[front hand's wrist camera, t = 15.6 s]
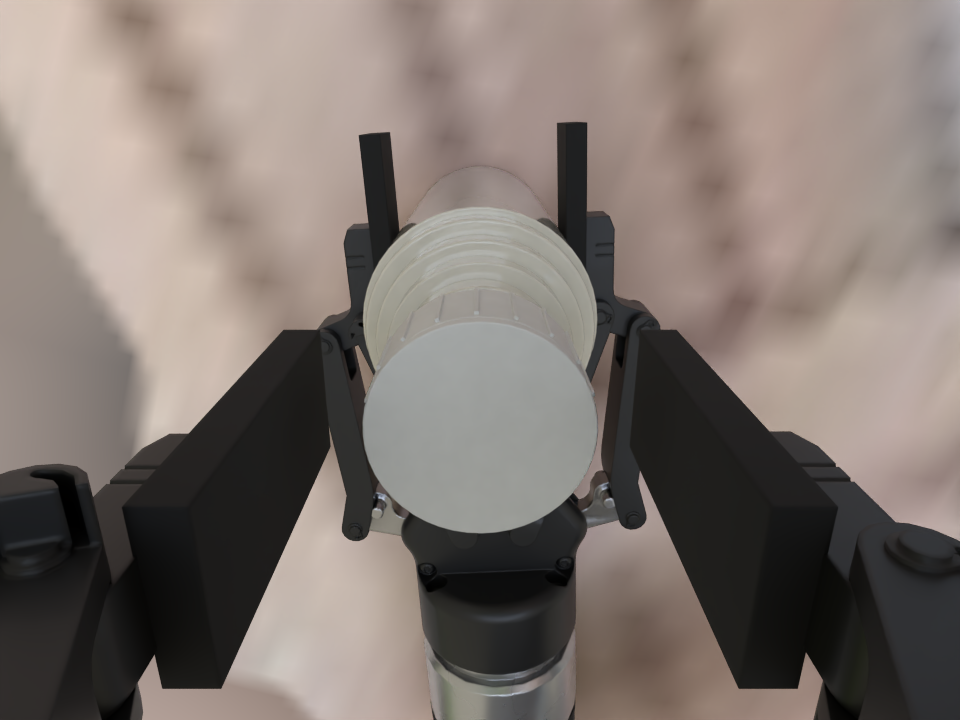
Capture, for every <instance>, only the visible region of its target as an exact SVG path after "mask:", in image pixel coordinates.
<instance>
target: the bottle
mask: <svg viewBox="0 0 960 720" xmlns="http://www.w3.org/2000/svg"><path fill="white" fill-rule="evenodd" d="M475 288H479V289H484V290H496V291H501V292H506V293H510V292H513V293H514V294H515V295H516V296H519V297H521V298H523V299H526V300H528V301H530V302H532V303H533V304H535V305H537V306H538V307H540V308H542V307H544V308H545V309H546V311H547V313H548V314H549V315H550V316H551V317H552V318H553V319H554V320H555V321H556V322H557V323H558V324H559V325H560V326H561V327H562V329H563V330H564V332H566V331H568V333H569V335H570V337H571V340H572V342H573V345H574V347H575V349H576V352H577V354H578V357H579V359H580V361H582V364H583V366H584V369H585V370H586V368H587V365H588V362H589V359H590V356H591V353H592V350H593V347H594V342H595V337H596V331H597V306H596V300H595V295H594V290H593V287H592V284H591V282H590V279H589V276H588V274H587V272H586V270H585V268H584V266H583V264H582V262H581V261H580V259H579V258H578V256H577V255H576V254H575V252H574V251H573V249H572V248H571V246H570V245H569V243H568V242H567V241H566V239H565V238H564V236H563V235H562V233H561V232H560V230H559V229H558V228H557V226H556V225H555V223H554V222H553V220H552V219H551V217H550V216H549V215H548V213H547V212H546V210H545V209H544V207H543V206H542V204H541V203H540V202H539V200H538V199H537V197H536V196H535V194H534V193H533V192H532V190H531V189H530V188H529V187H528V186H527V185H526V184H525V183H524V182H523V181H521V180H520V179H519V178H517V177H516V176H514V175H512V174H511V173H508V172H506V171H504V170H501V169H497V168H494V167H487V166H474V167H467V168H463V169H459V170H456V171H454V172H452V173H450V174H448V175H446V176H445V177H443V178H441V179H440V180H439V181H438V182H436V183H435V184H434V185H433V186H432V187H431V188H430V189H429V190H428V192H427V193H426V195H425V196H424V197H423V199H422V200H421V202H420V203H419V205H418V206H417V208H416V209H415V210H414V212H413V213H412V215H411V216H410V218H409V219H408V221H407V222H406V223H405V225H404V226H403V228H402V229H401V231H400V232H399V234H398V235H397V236H396V238H395V239H394V241H393V242H392V244H391V245H390V247H389V248H388V249H387V251H386V252H385V254H384V255H383V257H382V258H381V260H380V261H379V263H378V265H377V267H376V269H375V270H374V272H373V274H372V277H371V280H370V282H369V285H368V288H367V292H366V296H365V301H364V310H363V328H364V336H365V341H366V346H367V349H368V352H369V355H370V358H371V361H372V364H373V367H374V369H375V371H376V370H377V369H376V367H377V365H378V362H379V360H380V357H381V355H382V352H383V350H384V348H385V345H386V343H387V340H388V338H389V336H391V337H393V335H394V334H395V332H396V331H397V329H398V328H399V327H400V326H401V325H402V323H403V322H404V321H405V320H406V319H407V318H408V316H409V313H410V312H411V311H413V312H415V311H416V310H418V309H419V308H421V307H422V306H424V305H425V304H427V303H429V302H431V301H433V300H435V299H437V298H439V296H440V295H441V294H444V296H445V295H447V294H450V293H454V292H459V291H464V290H475Z"/></svg>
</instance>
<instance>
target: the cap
mask: <svg viewBox="0 0 960 720" xmlns="http://www.w3.org/2000/svg"><path fill="white" fill-rule="evenodd" d="M376 369H377V370H376V372H375V375H374V377H373V379H372V382H371V384H370V387H369V389H368V392H367V394H366V397H365V399H364V403H365V407H364V413H363V421H362V426H363V441H364V447H365V451H366V454H367V458H368V461H369V463H370V465H371V468H372V470H373V472H374V474H375V476H376V477H377V479H378V480H379V482H380V483H381V485H382V486H383V488H384V489H385V490H386V491H387V492H388V493H389V495H390V496H391V497H392V498H393V499H394V500H395V501H396V502H398V503H399V504H400V505H401V506H402V507H403V508H405V509H406V510H408V511H409V512H410V513H412V514H413V515H415V516H417V517H419V518H421V519H422V520H424V521H426V522H429V523H431V524H434V525H436V526H439V527H442V528H446V529H450V530H453V531H460V532H466V533H494V532H501V531H506V530H511V529H515V528H518V527H521V526H525V525H527V524H529V523H532V522H534V521H536V520H538V519H540V518H542V517H543V516H545V515H547V514H549V513H550V512H552V511H553V510H554V509H556V508H557V507H558V506H560V505H561V504H562V503H563V502H564V501H565V500H566V499H567V498H568V497H569V496H570V495H571V494H572V493H573V492H574V490H575V489H576V488H577V487H578V485H579V484H580V483H581V481H582V479H583V478H584V476H585V474H586V473H587V471H588V468H589V466H590V464H591V462H592V459H593V456H594V452H595V448H596V444H597V436H598V417H597V411H596V405H595V402H594V399H593V396H595V393H594V390H593V388H592V386H591V383H590V381H589V378H588V376H587V373H586V371H585V369H584V366H583V364H582V361H580V359H579V357H578V354H577V352H576V349H575V347H574V345H573V342H572V340H571V337H570V335H569V333H568V331H566V332H564V330H563V329H562V327H561V326H560V325H559V324H558V323H557V322H556V321H555V320H554V319H553V318H552V317H551V316H550V315H549V314H548V313H547V311H546V309H545V308H544V307H542V308H540V307H538V306H537V305H535V304H533V303H532V302H530V301H528V300H526V299H523V298H521V297H519V296H516V295H515V294H514V293H513V292H510V293H506V292H501V291H496V290H484V289H479V288H475V290H464V291H459V292H454V293H450V294H447V295H445V296H444V294H441V295H440V296H439V298H437V299H435V300H433V301H431V302H429V303H427V304H425V305H424V306H422V307H421V308H419V309H418V310H416V311H415V312H413V311H411V312H410V313H409V316H408V318H407V319H406V320H405V321H404V322H403V323H402V325H401V326H400V327H399V328H398V329H397V331H396V332H395V334H394V335H393V337H391V336H389V338H388V340H387V343H386V345H385V348H384V350H383V352H382V355H381V357H380V360H379V362H378V365H377V367H376Z"/></svg>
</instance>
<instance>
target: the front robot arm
mask: <svg viewBox="0 0 960 720" xmlns="http://www.w3.org/2000/svg"><path fill="white" fill-rule="evenodd" d="M330 447H331V446H330V435H329V424H328V413H327V402H326V390H325V379H324V368H323V357H322V346H321V335H320V330H283V331H282V332H281V333H280V334H279V336H278V337H277V338H276V339H275V340H274V341H273V342H272V343H271V344H270V345H269V346H268V348H267V349H266V350H265V351H264V352H263V353H262V354H261V355H260V356H259V357H258V358H257V360H256V361H255V362H254V363H253V364H252V365H251V366H250V367H249V368H248V369H247V370H246V372H245V373H244V374H243V375H242V376H241V377H240V378H239V379H238V380H237V381H236V383H235V384H234V385H233V386H232V387H231V388H230V389H229V390H228V391H227V392H226V393H225V395H224V396H223V397H222V398H221V399H220V400H219V401H218V402H217V403H216V404H215V405H214V407H213V408H212V409H211V410H210V411H209V412H208V413H207V414H206V415H205V416H204V417H203V419H202V420H201V421H200V422H199V423H198V424H197V425H196V426H195V427H194V428H193V429H192V431H191V432H190V433H189V434H169V435H167V436H165V437H163V438H161V439H159V440H157V441H156V442H154V443H152V444H150V445H148V446H146V447H144V448H143V449H142V450H141V451H139V452H138V453H137V454H136V455H135V456H134V457H133V458H132V459H131V460H130V461H129V462H128V463H127V464H126V465H125V469H122V470H120V471H119V472H118V473H117V474H116V475H115V476H114V477H113V478H112V479H111V480H110V484H106V485H105V486H104V487H103V488H102V489H101V490H100V491H99V492H98V493H97V494H96V495H95V496H94V497H93V496H92V492H91V488H90V484H89V480H88V475H87V473H86V472H84V471H83V470H81V469H80V468H78V467H77V466H70V465H63V464H50V465H35V466H31V467H26V468H22V469H17V470H12V471H9V472H6V473H3V474H0V720H142V715H143V708H142V701H141V695H140V691H139V687H138V681H139V679H140V678H141V676H142V674H143V673H144V671H145V669H146V668H147V666H148V664H149V663H150V661H151V659H152V658H153V656H154V654H155V658H156V663H157V667H158V671H159V676H160V680H161V685H162V688H163V689H221V688H222V686H223V684H224V681H225V679H226V677H227V675H228V673H229V670H230V668H231V666H232V664H233V661H234V659H235V657H236V655H237V653H238V650H239V648H240V646H241V644H242V642H243V639H244V637H245V635H246V633H247V630H248V628H249V626H250V624H251V622H252V619H253V617H254V615H255V613H256V611H257V608H258V606H259V604H260V602H261V599H262V597H263V595H264V593H265V591H266V588H267V586H268V584H269V582H270V580H271V577H272V575H273V573H274V571H275V568H276V566H277V564H278V562H279V560H280V557H281V555H282V553H283V551H284V549H285V546H286V544H287V542H288V540H289V537H290V535H291V533H292V531H293V529H294V526H295V524H296V522H297V520H298V517H299V515H300V513H301V511H302V509H303V506H304V504H305V502H306V500H307V498H308V495H309V493H310V491H311V489H312V486H313V484H314V482H315V480H316V478H317V475H318V473H319V471H320V469H321V467H322V464H323V462H324V460H325V458H326V455H327V453H328V451H329V449H330ZM629 447H630V449H631V451H632V453H633V455H634V458H635V460H636V462H637V464H638V467H639V469H640V471H641V473H642V475H643V478H644V480H645V482H646V484H647V486H648V489H649V491H650V493H651V495H652V498H653V500H654V502H655V504H656V506H657V509H658V511H659V513H660V515H661V517H662V520H663V522H664V524H665V526H666V529H667V531H668V533H669V535H670V537H671V540H672V542H673V544H674V546H675V549H676V551H677V553H678V555H679V557H680V560H681V562H682V564H683V566H684V568H685V571H686V573H687V575H688V577H689V580H690V582H691V584H692V586H693V588H694V591H695V593H696V595H697V597H698V599H699V602H700V604H701V606H702V608H703V611H704V613H705V615H706V617H707V619H708V622H709V624H710V626H711V628H712V630H713V633H714V635H715V637H716V639H717V642H718V644H719V646H720V648H721V650H722V653H723V655H724V657H725V659H726V661H727V664H728V666H729V668H730V670H731V673H732V675H733V677H734V679H735V681H736V684H737V686H738V688H739V689H798V685H799V680H800V676H801V671H802V667H803V663H804V658H805V654H806V653H807V654H808V656H809V658H810V659H811V661H812V663H813V664H814V666H815V667H816V669H817V671H818V672H819V674H820V676H821V677H822V679H823V683H822V687H821V691H820V695H819V699H818V703H817V708H816V712H815V716H814V720H960V541H958V540H956V539H954V538H951V537H949V536H947V535H944V534H942V533H940V532H937V531H935V530H932V529H928V528H924V527H920V526H916V525H912V524H909V523H896V522H895V521H894V520H893V519H892V518H891V517H890V516H889V515H888V514H887V513H886V512H885V511H884V510H883V509H882V508H881V507H880V506H879V505H878V504H876V503H875V502H874V501H873V500H872V499H871V498H870V497H869V496H868V495H867V494H866V493H865V492H864V491H863V490H862V489H861V488H860V487H859V486H858V485H857V484H856V483H855V482H851V481H850V477H849V476H848V475H847V474H846V473H845V472H844V471H843V470H842V469H841V468H840V467H836V463H835V462H834V461H833V460H832V459H831V458H829V457H828V456H827V455H826V454H825V453H824V452H823V451H822V450H821V449H820V448H819V447H818V446H817V445H815V444H813V443H811V442H809V441H807V440H805V439H804V438H802V437H800V436H798V435H796V434H794V433H792V432H769V431H768V429H767V428H766V427H765V426H764V425H763V424H762V423H761V422H760V421H759V420H758V419H757V417H756V416H755V415H754V414H753V413H752V412H751V411H750V410H749V409H748V408H747V407H746V405H745V404H744V403H743V402H742V401H741V400H740V399H739V398H738V397H737V396H736V395H735V393H734V392H733V391H732V390H731V389H730V388H729V387H728V386H727V385H726V384H725V383H724V381H723V380H722V379H721V378H720V377H719V376H718V375H717V374H716V373H715V372H714V370H713V369H712V368H711V367H710V366H709V365H708V364H707V363H706V362H705V361H704V360H703V358H702V357H701V356H700V355H699V354H698V353H697V352H696V351H695V350H694V349H693V348H692V346H691V345H690V344H689V343H688V342H687V341H686V340H685V339H684V338H683V337H682V336H681V334H680V333H679V332H678V331H677V330H640V335H639V346H638V357H637V368H636V379H635V390H634V402H633V413H632V424H631V435H630V446H629Z"/></svg>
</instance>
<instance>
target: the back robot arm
mask: <svg viewBox="0 0 960 720" xmlns="http://www.w3.org/2000/svg"><path fill="white" fill-rule="evenodd" d="M359 141H360V150H361V159H362V168H363V177H364V186H365V195H366V204H367V213H368V222H369V223H365V224H353V225H352V226H351V227H350V228H349V229H348V230H347V233H346V236H345V240H344V250H345V257H346V266H347V274H348V282H349V290H350V298H351V308H350V309H349V310H347V311H345V312H343V313H340V314H338V315H331V316H328V317H327V318H326V319H325V320H324V321H323V323H322V324H321V325H320V327H319V328H318V329H317V330H320V335H321V346H322V357H323V368H324V379H325V390H326V402H327V413H328V424H329V428H330V432H331V436H332V440H333V444H334V448H335V451H336V455H337V459H338V463H339V467H340V471H341V475H342V479H343V483H344V487H345V491H346V495H347V497H346V504H345V511H344V517H343V524H342V532H343V534H344V536H345V537H346V538H348V539H349V540H352V541H360V540H363V539H364V538H366V537H367V535H368V533H369V530H371V531H376V532H382V533H388V534H394V535H400V536H402V540H403V542H404V544H405V546H406V547H407V548H408V549H409V550H410V552H411V553H412V555H413V557H414V559H415V562H416V569H417V578H418V588H419V597H420V607H421V617H422V625H423V631H424V634H425V638H424V647H425V655H426V664H427V672H428V680H429V689H430V697H431V707H432V714H433V719H434V720H575V715H574V711H575V694H576V635H575V627H574V626H575V620H576V552H577V549H578V547H579V545H580V543H581V542H582V540H583V539H584V537H585V535H586V532H587V528H590V527H593V526H597V525H601V524H605V523H609V522H613V521H616V520H619V521H620V523H621V525H622V526H623V527H625V528H627V529H630V530H631V529H637V528H639V527H641V526H642V525H643V524H644V523H645V521H646V511H645V508H644V504H643V500H642V496H641V493H640V489H639V485H638V479H639V473H640V469H639V467H638V464H637V462H636V460H635V458H634V455H633V453H632V451H631V449H630V447H629V446H630V435H631V424H632V413H633V402H634V390H635V379H636V368H637V357H638V346H639V335H640V330H660V325H659V323H658V321H657V320H656V319H655V317H654V316H653V315H652V314H651V313H650V312H649V310H648V309H647V308H646V307H645V306H644V305H643V304H642V303H641V302H639V301H636V300H626V299H623V298H620V297H617V296H615V295H614V291H613V279H614V230H615V229H614V227H613V224H612V221H611V219H610V216H609V215H607V214H606V213H605V212H603V211H595V212H587V123H586V122H565V123H557V158H558V229H559V230H560V232H561V233H562V235H563V236H564V238H565V239H566V241H567V242H568V243H569V245H570V246H571V248H572V249H573V251H574V252H575V254H576V255H577V256H578V258H579V259H580V261H581V262H582V264H583V266H584V268H585V270H586V272H587V274H588V276H589V279H590V282H591V284H592V287H593V290H594V295H595V300H596V306H597V331H596V337H595V342H594V347H593V350H592V353H591V356H590V359H589V362H588V365H587V368H586V370H585V371H586V373H587V376H588V378H589V381H590V383H591V381H592V378H593V375H594V373H595V370H596V367H597V365H598V362H599V360H600V357H601V354H602V352H603V349H604V346H605V344H606V341H607V338H608V336H609V333H613V334H615V341H614V349H613V357H612V366H611V374H610V382H609V390H608V398H607V406H606V414H605V422H604V431H603V439H602V449H601V459H602V466H603V471H598V472H596V473H595V475H594V477H593V478H592V480H591V482H590V491H589V493H588V495H587V496H586V497H584V498H582V499H580V500H579V499H578V498H577V497H576V496H575V494H574V493H572V494H571V495H570V496H569V497H568V498H567V499H566V500H565V501H564V502H563V503H562V504H561V505H560V506H558V507H557V508H556V509H554V510H553V511H552V512H550V513H549V514H547V515H545V516H543V517H542V518H540V519H538V520H536V521H534V522H532V523H529V524H527V525H525V526H521V527H518V528H515V529H511V530H506V531H501V532H494V533H466V532H460V531H453V530H450V529H446V528H442V527H439V526H436V525H434V524H431V523H429V522H426V521H424V520H422V519H421V518H419V517H417V516H415V515H413V514H412V513H410V512H409V511H408V510H406V509H405V508H403V507H402V506H401V505H400V504H399V503H398V502H396V501H395V500H394V499H393V498H392V497H391V496H390V495H389V493H388V492H387V491H386V490H385V489H384V488H383V486H382V485H381V483H380V482H379V480H378V479H377V477H376V476H375V474H374V472H373V470H372V468H371V465H370V463H369V461H368V458H367V454H366V451H365V447H364V441H363V426H362V421H363V413H364V407H365V403H364V399H365V397H366V394H365V389H364V385H363V381H362V376H361V372H360V368H359V363H358V359H357V355H356V350H355V346H357V345H359V347H360V349H361V351H362V353H363V355H364V357H365V359H366V361H367V363H368V365H369V367H370V369H371V371H372V373H373V375H375V372H376V371H375V369H374V367H373V364H372V361H371V358H370V355H369V352H368V349H367V346H366V341H365V336H364V328H363V310H364V301H365V296H366V292H367V288H368V285H369V282H370V280H371V277H372V274H373V272H374V270H375V269H376V267H377V265H378V263H379V261H380V260H381V258H382V257H383V255H384V254H385V252H386V251H387V249H388V248H389V247H390V245H391V244H392V242H393V241H394V239H395V238H396V236H397V235H398V234H399V222H398V212H397V201H396V191H395V180H394V170H393V159H392V149H391V138H390V132H385V133H369V134H363V135H359Z"/></svg>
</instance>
